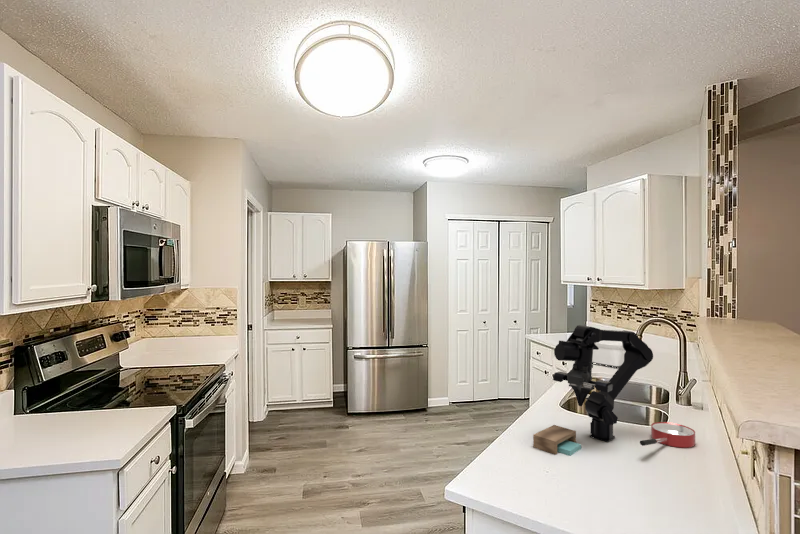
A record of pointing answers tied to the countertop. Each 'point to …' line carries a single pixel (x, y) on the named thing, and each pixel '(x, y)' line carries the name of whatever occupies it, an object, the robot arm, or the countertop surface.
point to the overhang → (552, 438)
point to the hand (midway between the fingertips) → (580, 406)
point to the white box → (609, 353)
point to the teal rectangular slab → (568, 447)
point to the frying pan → (671, 435)
